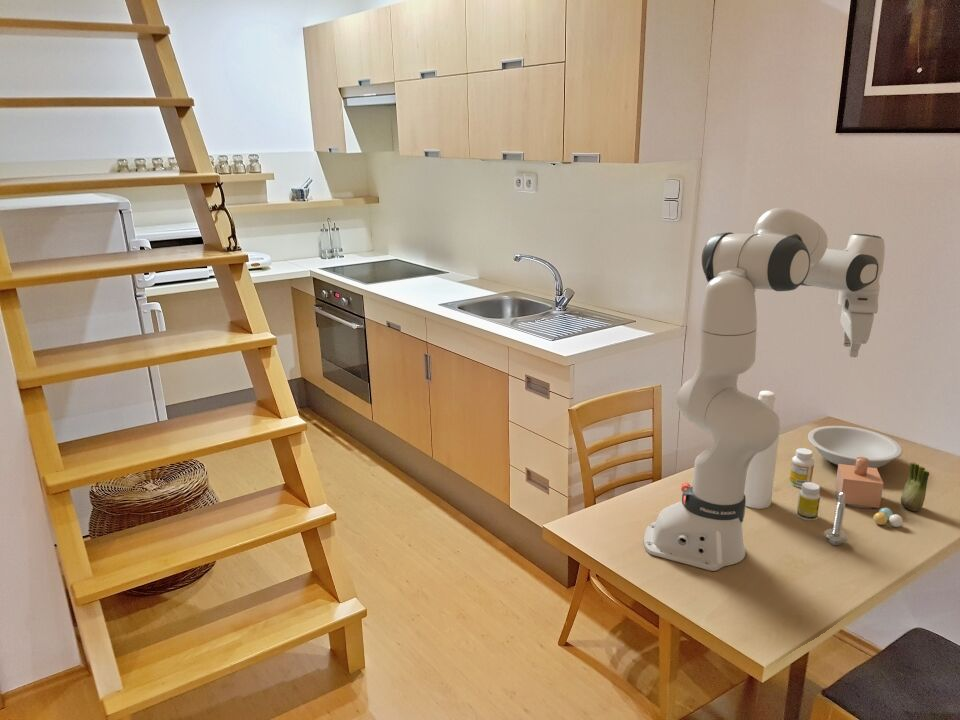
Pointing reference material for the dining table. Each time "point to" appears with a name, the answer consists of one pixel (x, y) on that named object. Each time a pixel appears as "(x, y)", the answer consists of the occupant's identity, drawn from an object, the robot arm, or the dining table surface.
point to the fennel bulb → (915, 487)
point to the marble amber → (880, 518)
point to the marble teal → (886, 512)
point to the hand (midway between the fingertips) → (850, 351)
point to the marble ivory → (895, 520)
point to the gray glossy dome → (854, 505)
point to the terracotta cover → (859, 483)
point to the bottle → (762, 468)
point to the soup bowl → (854, 445)
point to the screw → (837, 523)
